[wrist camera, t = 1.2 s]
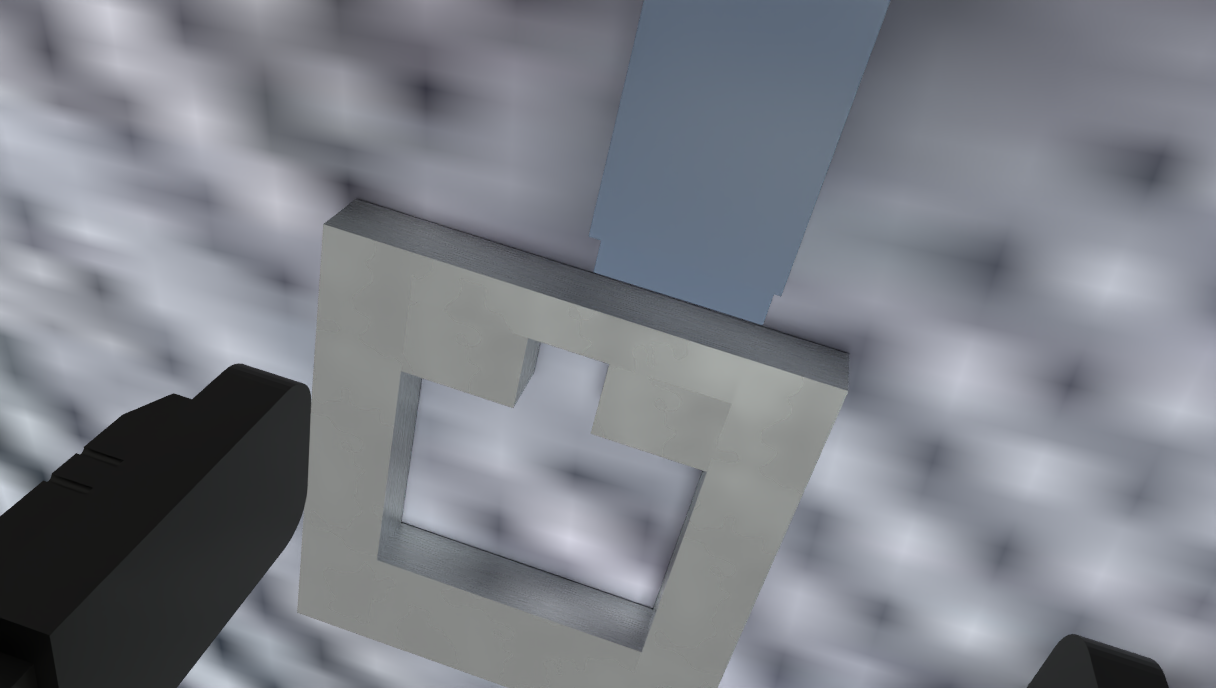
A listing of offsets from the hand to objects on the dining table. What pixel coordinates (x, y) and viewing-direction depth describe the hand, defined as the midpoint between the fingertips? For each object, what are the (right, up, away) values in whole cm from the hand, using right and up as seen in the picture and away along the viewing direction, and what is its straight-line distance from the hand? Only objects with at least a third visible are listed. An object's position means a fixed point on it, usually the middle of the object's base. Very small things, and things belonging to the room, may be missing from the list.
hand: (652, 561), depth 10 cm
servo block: (+3, +9, +14) cm, 17 cm away
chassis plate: (-3, -2, +22) cm, 22 cm away
